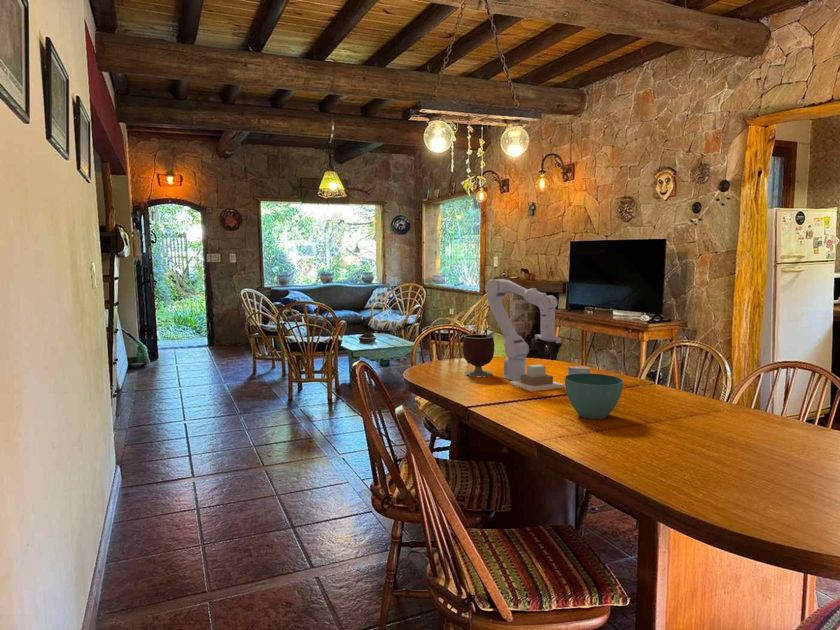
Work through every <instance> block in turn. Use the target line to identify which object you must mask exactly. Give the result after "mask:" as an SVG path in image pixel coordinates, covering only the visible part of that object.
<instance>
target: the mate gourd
mask: <svg viewBox="0 0 840 630" xmlns="http://www.w3.org/2000/svg"><path fill="white" fill-rule="evenodd" d="M498 332H499V330H494V331H491V332H489V334H484V333H483V334H481V333H479V334H476V333H475V334H466V335H463V339H462V353H463V354H462V355H463V359H464V360H465V361H466V362H467V364H470V365H472V366H473V367H474V370H466V371H465V372H464V375H465V374H466V375H470V376H481V377H480V378H484V377H483V376H489V377H492V376H493V372H492V371H489V370H483V367H484V366H485V365H488V364H490V363H491V362H492V360H493V358H494V356H495V341H494V340H495V339H494V336H493V335H494V334H496V333H498ZM466 375H465V376H466ZM491 375H492V376H491Z"/></svg>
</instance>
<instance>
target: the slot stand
mask: <svg viewBox="0 0 840 630" xmlns="http://www.w3.org/2000/svg"><path fill="white" fill-rule="evenodd" d="M510 384H511V385H510ZM509 385H510V386H513V385H514V386H513V387H517V388H519V387H520V388H519V389H522V388H523V389H522V390H525V389H526V390H525V391H528V392H538V391H546V390H553V389H561V388H563V389H564V388H565V383H561V382H557V381H554V376H553V375H550V374H546V375H545V376H544V377H536V378H533V377H529V376H527V373H526V374H525V375H521V380H519V381H513V380H510V381H509Z"/></svg>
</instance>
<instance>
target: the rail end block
mask: <svg viewBox="0 0 840 630" xmlns="http://www.w3.org/2000/svg"><path fill="white" fill-rule="evenodd" d="M546 368H547V367H546V365H543V364H532V365H531V364H529V365H526V371H527V372H526V374H527V376H529V377H533V378H536V377H544V376H545V375H546V370H547V369H546Z"/></svg>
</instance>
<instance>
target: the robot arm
mask: <svg viewBox="0 0 840 630" xmlns="http://www.w3.org/2000/svg"><path fill="white" fill-rule="evenodd" d="M484 290H485V292H486V296H487V297H486V298H487V304H488V306H489V308H490V310H491V313H492V314H493V316H494V317H493V318H494V319H495V321H496V323H497V325H498V327H499V329H500V331H501V333H502V335H503V337H504V343H503V346H504V350H505V355H506V356H507V357H506V358H505V359H504V362H503V375H502V378H504V379H507V380H510V381H520V380H521V375H525V374H527V372H526V371H527V355H528V354H529V353H530V347H529V344H528V343H527V342H526V341H525V340H524V338H523V337H522V336H521V335H519V334H518V333H517V330H516V329H515V326H514V324H513V323H512V321H511V318H510V317H509V314H508V313H507V311H506V308H505V306H504V305H503V300H504V298H505V297H506V295H507V293H508V292H511V293H514V294H517V295H519V296H521V297H524V298H523V299H524V300H525V301H526V302H528V303H530V304H531V305H534V306H536V307H537V308H538V309H539V313H540V315H539V317H540V319H539V320H540V322H539V324H540V326H539V327H540V334H539V333H538V334H534V340H533V344H534V345H535V347H536V350H537V352H538V353H537V354H538V357H539V358H541V359H543V358H545V356H546V347H547V345H548V348H549V354H550V355H549V357H550V360H551V361H556V360H557V357H558V355H559V351H560V349H561V347H562V345H563V343H562V338H561V337H558V336H556V308H557V306H558V299H557V297H555V296H554V295H553V294H549V295H547V293H546V292H541V291H539V290H538V289H537V288H535V287H533V288H529V289H527V288H526V287H523V286H521V285H519V284H517V283H515V282H513V281H512V280H509V279H506V278H499V279H498V278H496V279H495V278H491V279H488V281H487V282H486V284H485V287H484Z"/></svg>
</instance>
